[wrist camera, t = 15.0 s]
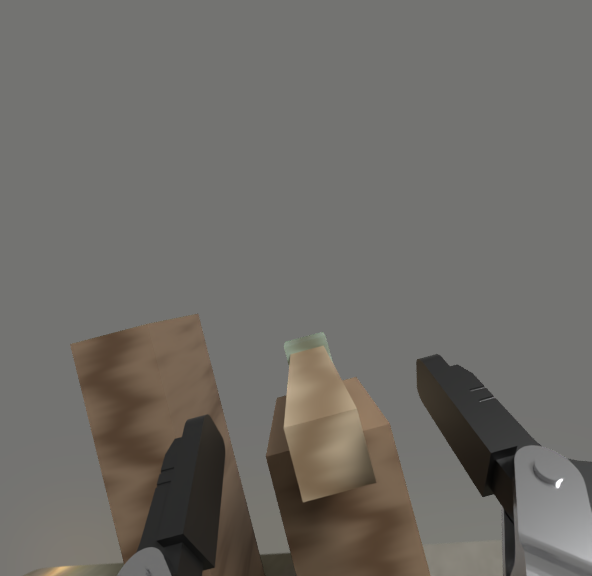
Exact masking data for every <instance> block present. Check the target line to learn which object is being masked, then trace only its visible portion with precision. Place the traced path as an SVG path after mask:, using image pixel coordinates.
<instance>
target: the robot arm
mask: <svg viewBox="0 0 592 576" xmlns="http://www.w3.org/2000/svg"><path fill="white" fill-rule="evenodd" d="M416 365H417V389H418V393H419V396H420V398H421V400H422V402H423V404H424V406H425V407H426V408H427V410H428V412H429V413H430V415H431V417H432V418H433V420H434V421H435V423H436V425H437V426H438V428H439V429H440V431H441V432H442V434H443V436H444V437H445V439H446V440H447V442H448V443H449V445H450V447H451V448H452V450H453V451H454V453H455V454H456V456H457V457H458V459H459V461H460V462H461V464H462V465H463V467H464V469H465V470H466V472H467V473H468V475H469V476H470V478H471V480H472V481H473V483H474V484H475V486H476V487H477V489H478V490H479V492H480V494H481V495H482V497H485V496H489V495H492V494H494V495H495V496H496V498H497V499H498V501H499V502H500V504H501V505H502V552H503V576H592V462H587V461H577V460H571V459H567V458H565V457H564V456H562V455H561V454H559V453H557V452H555V451H553V450H551V449H548V448H545V447H542V446H541V445H540V444H539V443H537V442H536V441H535V440H534V439H533V438H532V437H531V436H530V435H529V434H528V433H527V431H525V429H524V428H523V427H522V426H521V425H520V424H519V423H518V422H517V421H516V420H515V419H514V418H513V416H512V415H511V414H510V413H509V412H508V411H507V410H506V409H505V408H504V407H503V406H502V405H501V404H500V402H499V401H498V400H497V399H495V398H494V397H493V395H492V394H491V393H490V392H489V391H488V389H487V388H485V387H484V385H483V384H482V383H481V382H480V381H479V380H478V379H477V378H476V377H475V376H474V374H473V373H471V372H469V371H468V370H466V369H464V368H463V367H461V366H459V365H454V366H449V365H448V364H447V363H446V362H445V360H444V359H443V358H442V357H441V356H440V355H438V354H436V355H432V356H428V357H424V358H421V359H417V362H416ZM224 465H225V444H224V440H223V437H222V436H221V434H220V432H219V430H218V429H217V427H216V425H215V423H214V422H213V420H212V418H211V417H210V415H208V414H206V415H203V416H199V417H195V418H191V419H188V420H187V421H186V423H185V426H184V430H183V434H182V437H180V438H176V439H174V441H173V442H172V444H171V446H170V447H169V449H168V451H167V452H166V454H165V457H164V460H163V464H162V467H161V474H159V478H158V481H157V488H155V492H154V495H153V499H152V502H151V506H150V509H149V513H148V516H147V520H146V523H145V527H144V530H143V534H142V537H141V541H140V544H139V547H138V549H137V551H136V554H134V555H133V556H132V557H131V558H130V559H129V560H128V561H127V562H126V563H125V564H124V566H123V567H122V568H121V570H120V572H119V573H118V575H117V576H202V572H203V571H204V570H208V569H211V568H215V561H216V551H217V540H218V529H219V519H220V508H221V497H222V487H223V476H224Z"/></svg>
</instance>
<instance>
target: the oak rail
mask: <svg viewBox="0 0 592 576" xmlns="http://www.w3.org/2000/svg"><path fill="white" fill-rule="evenodd" d="M284 349H285V353H286V356H287V360H288V364H289V376H288V387H287V397H286V408H285V419H284V431H285V435H286V439H287V443H288V447H289V451H290V454H291V458H292V462H293V466H294V470H295V474H296V478H297V481H298V485H299V489H300V493H301V497H302V501H303V502H307V501H310V500H314V499H318V498H322V497H325V496H329V495H333V494H337V493H340V492H344V491H348V490H351V489H355V488H359V487H363V486H366V485H370V484H374V483H377V482H376V479H375V475H374V471H373V467H372V463H371V460H370V456H369V452H368V448H367V445H366V441H365V437H364V433H363V430H362V426H361V422H360V418H359V414H358V411H357V408H356V406H355V404H354V402H353V400H352V398H351V396H350V395H349V393H348V391H347V389H346V387H345V385H344V383H343V381H342V379H341V378H340V376H339V374H338V372H337V370H336V368H335V366H334V364H333V362H332V359H331V355H330V352H329V347H328V344H327V340H326V336H325V335H324V333H323V332H321V333H317V334H313V335H310V336H306V337H302V338H298V339H295V340H291V341H287V342H285V345H284Z"/></svg>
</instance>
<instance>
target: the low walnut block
mask: <svg viewBox="0 0 592 576" xmlns="http://www.w3.org/2000/svg"><path fill="white" fill-rule="evenodd" d="M343 383H344V385H345V387H346V389H347V391H348V393H349V395H350V396H351V398H352V400H353V402H354V404H355V406H356V408H357V411H358V414H359V418H360V422H361V426H362V430H363V433H364V437H365V441H366V445H367V448H368V452H369V456H370V460H371V463H372V467H373V471H374V475H375V479H376V482H377V483H374V484H370V485H366V486H363V487H359V488H355V489H351V490H348V491H344V492H340V493H337V494H333V495H329V496H325V497H322V498H318V499H314V500H310V501H307V502H303V501H302V497H301V493H300V489H299V485H298V481H297V478H296V474H295V470H294V466H293V462H292V458H291V454H290V451H289V447H288V443H287V439H286V435H285V431H284V419H285V408H286V397H287V395H286V396H283V397H279V398H277V400H276V406H275V411H274V416H273V422H272V427H271V432H270V438H269V443H268V448H267V453H266V459H267V463H268V467H269V471H270V474H271V478H272V482H273V486H274V490H275V493H276V498H277V502H278V506H279V509H280V513H281V517H282V521H283V525H284V529H285V533H286V537H287V540H288V544H289V548H290V552H291V556H292V560H293V564H294V568H295V572H296V575H297V576H430V572H429V568H428V565H427V561H426V557H425V553H424V550H423V546H422V542H421V539H420V535H419V531H418V527H417V524H416V520H415V516H414V512H413V509H412V505H411V501H410V498H409V494H408V490H407V486H406V482H405V479H404V475H403V471H402V468H401V464H400V460H399V456H398V453H397V449H396V445H395V441H394V438H393V434H392V430H391V426H390V423H389V422H388V421H387V420H386V418H385V416H384V415H383V414H382V412H381V411H380V410H379V408H378V407H377V405H376V404H375V403H374V401H373V400H372V399H371V397H370V396H369V394H368V393H367V391H366V390H365V389H364V387H363V386H362V384H361V383H360V382H359V381H358V379H357V377H354V378H350V379H347V380H343Z"/></svg>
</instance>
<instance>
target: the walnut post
mask: <svg viewBox="0 0 592 576" xmlns="http://www.w3.org/2000/svg"><path fill="white" fill-rule="evenodd" d="M71 349H72V353H73V358H74V361H75V366H76V370H77V374H78V378H79V382H80V386H81V390H82V394H83V398H84V402H85V406H86V411H87V415H88V419H89V422H90V427H91V431H92V435H93V439H94V443H95V447H96V451H97V455H98V459H99V464H100V467H101V471H102V476H103V480H104V483H105V488H106V492H107V496H108V500H109V504H110V508H111V512H112V517H113V521H114V525H115V529H116V533H117V537H118V541H119V545H120V549H121V553H122V557H123V561H124V564H125V563H126V562H127V561H128V560H129V559H130V558H131V557H132V556H133V555H134V554H136V551H137V549H138V547H139V544H140V541H141V537H142V534H143V530H144V527H145V523H146V520H147V516H148V513H149V509H150V506H151V502H152V499H153V495H154V492H155V488H157V481H158V478H159V474H161V467H162V464H163V460H164V457H165V454H166V452H167V451H168V449H169V447H170V446H171V444H172V442H173V441H174V439H176V438H180V437H182V434H183V430H184V426H185V423H186V421H187V420H188V419H191V418H195V417H199V416H203V415H206V414H208V415H210V417H211V418H212V420H213V422H214V423H215V425H216V427H217V429H218V430H219V432H220V434H221V436H222V437H223V440H224V444H225V465H224V476H223V487H222V497H221V508H220V519H219V529H218V540H217V551H216V561H215V568H211V569H208V570H204V571H203V572H202V576H265V574H264V570H263V566H262V562H261V558H260V554H259V550H258V546H257V542H256V539H255V535H254V531H253V527H252V523H251V519H250V515H249V511H248V507H247V503H246V499H245V495H244V492H243V488H242V484H241V480H240V476H239V472H238V468H237V464H236V460H235V456H234V452H233V449H232V445H231V441H230V437H229V433H228V429H227V425H226V421H225V417H224V413H223V409H222V405H221V401H220V398H219V394H218V390H217V386H216V382H215V378H214V374H213V370H212V366H211V363H210V358H209V355H208V351H207V347H206V343H205V339H204V335H203V331H202V327H201V323H200V319H199V315H198V314H194V315H189V316H185V317H179V318H174V319H170V320H164V321H160V322H154V323H149V324H146V325H141V326H138V327H134V328H130V329H126V330H122V331H119V332H115V333H111V334H108V335H103V336H100V337H96V338H92V339H88V340H85V341H81V342H77V343H73V344H71Z"/></svg>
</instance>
